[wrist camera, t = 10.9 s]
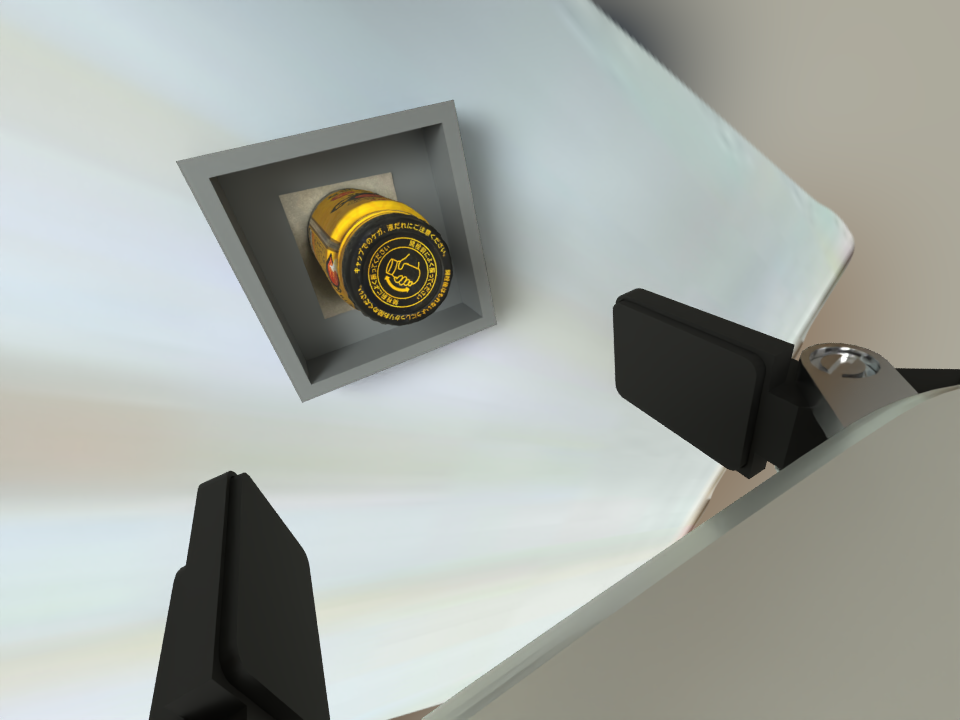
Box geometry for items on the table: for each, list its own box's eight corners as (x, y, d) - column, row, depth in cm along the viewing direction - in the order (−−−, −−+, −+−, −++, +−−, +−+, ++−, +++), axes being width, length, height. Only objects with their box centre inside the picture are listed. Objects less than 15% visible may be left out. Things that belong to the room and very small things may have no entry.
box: (188, 160, 24) (175, 161, 20) (428, 106, 28) (453, 99, 25) (297, 373, 32) (302, 402, 28) (472, 306, 36) (496, 324, 32)
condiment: (390, 171, 28) (459, 182, 19) (418, 289, 33) (485, 347, 23) (278, 194, 26) (290, 220, 16) (324, 317, 30) (354, 395, 21)
